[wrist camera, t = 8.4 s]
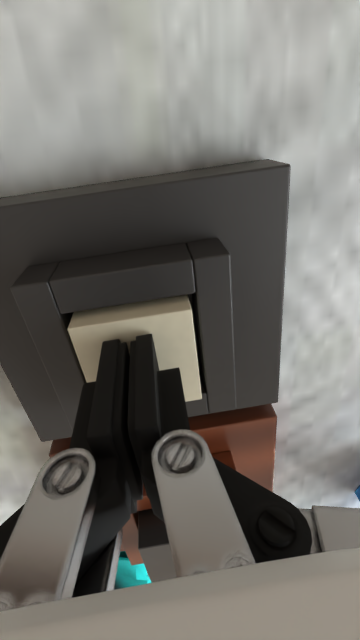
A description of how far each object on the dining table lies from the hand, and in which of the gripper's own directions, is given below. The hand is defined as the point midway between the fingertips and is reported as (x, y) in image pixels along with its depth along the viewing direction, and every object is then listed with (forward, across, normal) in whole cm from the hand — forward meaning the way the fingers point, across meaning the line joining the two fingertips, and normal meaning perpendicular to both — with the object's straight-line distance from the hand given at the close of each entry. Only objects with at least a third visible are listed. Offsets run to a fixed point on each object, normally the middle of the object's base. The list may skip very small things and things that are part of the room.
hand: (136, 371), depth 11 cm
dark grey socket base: (+5, 0, 0) cm, 5 cm away
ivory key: (+2, 0, 0) cm, 2 cm away
